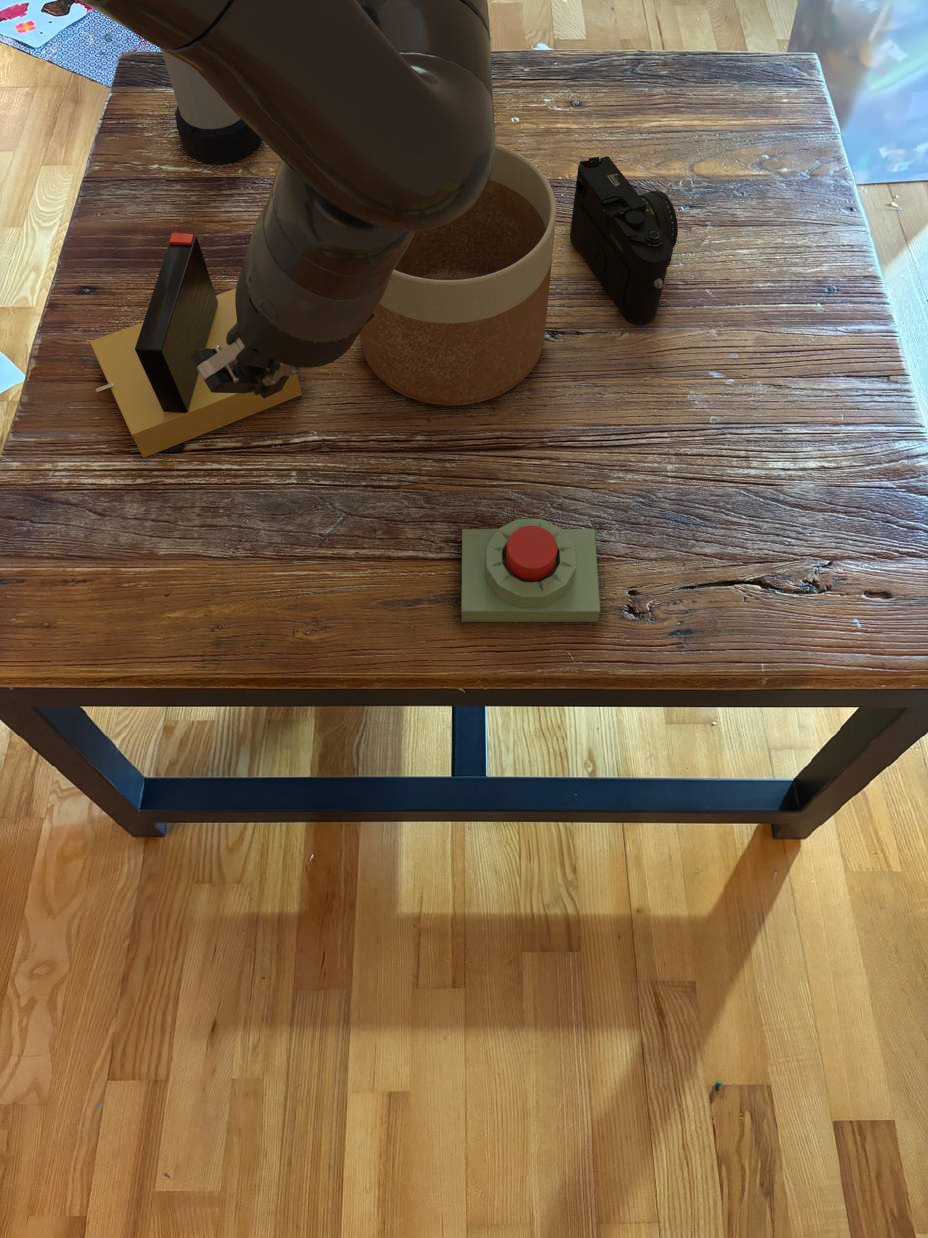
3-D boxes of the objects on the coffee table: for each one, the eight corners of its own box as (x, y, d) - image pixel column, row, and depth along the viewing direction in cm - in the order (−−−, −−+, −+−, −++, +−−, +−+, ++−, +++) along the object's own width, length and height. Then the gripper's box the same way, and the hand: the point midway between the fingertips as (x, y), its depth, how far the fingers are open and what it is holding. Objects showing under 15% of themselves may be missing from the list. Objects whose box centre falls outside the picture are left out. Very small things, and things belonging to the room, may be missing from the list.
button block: (461, 621, 68) (461, 599, 64) (462, 540, 71) (461, 515, 68) (597, 622, 68) (603, 599, 64) (592, 540, 71) (597, 515, 68)
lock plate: (130, 463, 74) (117, 438, 72) (89, 371, 79) (75, 344, 76) (314, 390, 78) (308, 364, 75) (265, 305, 82) (258, 277, 79)
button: (506, 580, 66) (507, 568, 64) (505, 537, 67) (506, 525, 66) (556, 581, 66) (558, 568, 64) (554, 538, 67) (556, 525, 66)
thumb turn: (187, 413, 73) (160, 348, 66) (162, 411, 73) (132, 346, 66) (218, 302, 78) (195, 231, 72) (195, 301, 78) (170, 230, 72)
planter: (401, 256, 85) (390, 116, 72) (566, 299, 82) (583, 161, 70) (332, 382, 78) (306, 251, 66) (509, 433, 75) (517, 306, 63)
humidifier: (274, 116, 94) (212, -185, 72) (247, 169, 90) (174, -131, 68) (199, 105, 95) (115, -195, 72) (169, 157, 91) (72, -143, 69)
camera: (702, 310, 81) (724, 236, 74) (631, 335, 80) (646, 262, 73) (624, 209, 87) (638, 131, 80) (557, 231, 86) (565, 154, 79)
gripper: (377, 175, 53) (313, 303, 69) (170, 256, 48) (154, 374, 64) (442, 291, 54) (365, 391, 70) (245, 382, 49) (211, 467, 65)
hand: (264, 383), depth 67 cm, fingers closed
